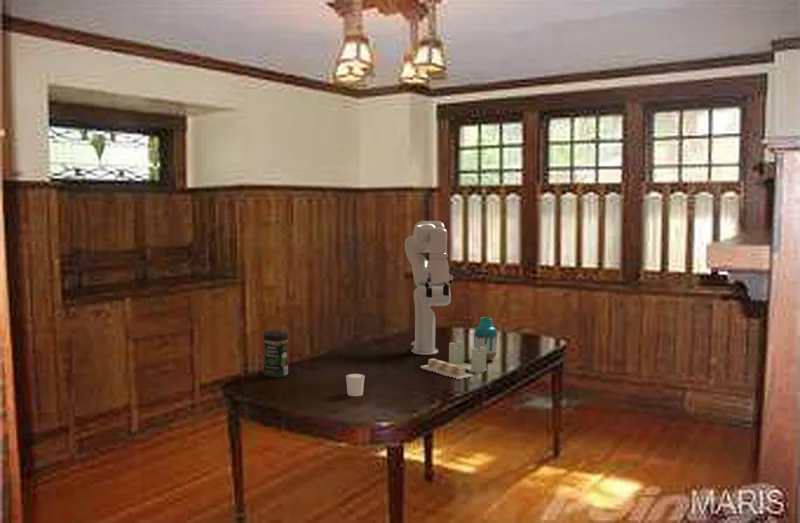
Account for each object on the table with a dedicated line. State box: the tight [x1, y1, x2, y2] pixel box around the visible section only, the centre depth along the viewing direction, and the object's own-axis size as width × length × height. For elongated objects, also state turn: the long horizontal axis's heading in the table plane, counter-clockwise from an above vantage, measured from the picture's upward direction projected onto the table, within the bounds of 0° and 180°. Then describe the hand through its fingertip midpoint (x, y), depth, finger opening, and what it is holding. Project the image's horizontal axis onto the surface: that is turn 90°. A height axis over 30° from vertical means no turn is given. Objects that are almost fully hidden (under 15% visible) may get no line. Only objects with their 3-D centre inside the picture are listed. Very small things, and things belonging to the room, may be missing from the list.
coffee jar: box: [262, 329, 289, 379], centre depth 280 cm, size 10×8×19 cm
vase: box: [473, 316, 499, 362], centre depth 311 cm, size 11×11×19 cm
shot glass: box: [345, 373, 365, 397], centre depth 255 cm, size 7×7×7 cm
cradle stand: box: [448, 340, 488, 374], centre depth 296 cm, size 18×6×10 cm, turn 38°
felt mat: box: [420, 364, 474, 380], centre depth 289 cm, size 24×8×1 cm, turn 38°
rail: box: [427, 358, 466, 376], centre depth 289 cm, size 20×3×3 cm, turn 38°
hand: (437, 296), depth 299 cm, fingers open, 9 cm apart
